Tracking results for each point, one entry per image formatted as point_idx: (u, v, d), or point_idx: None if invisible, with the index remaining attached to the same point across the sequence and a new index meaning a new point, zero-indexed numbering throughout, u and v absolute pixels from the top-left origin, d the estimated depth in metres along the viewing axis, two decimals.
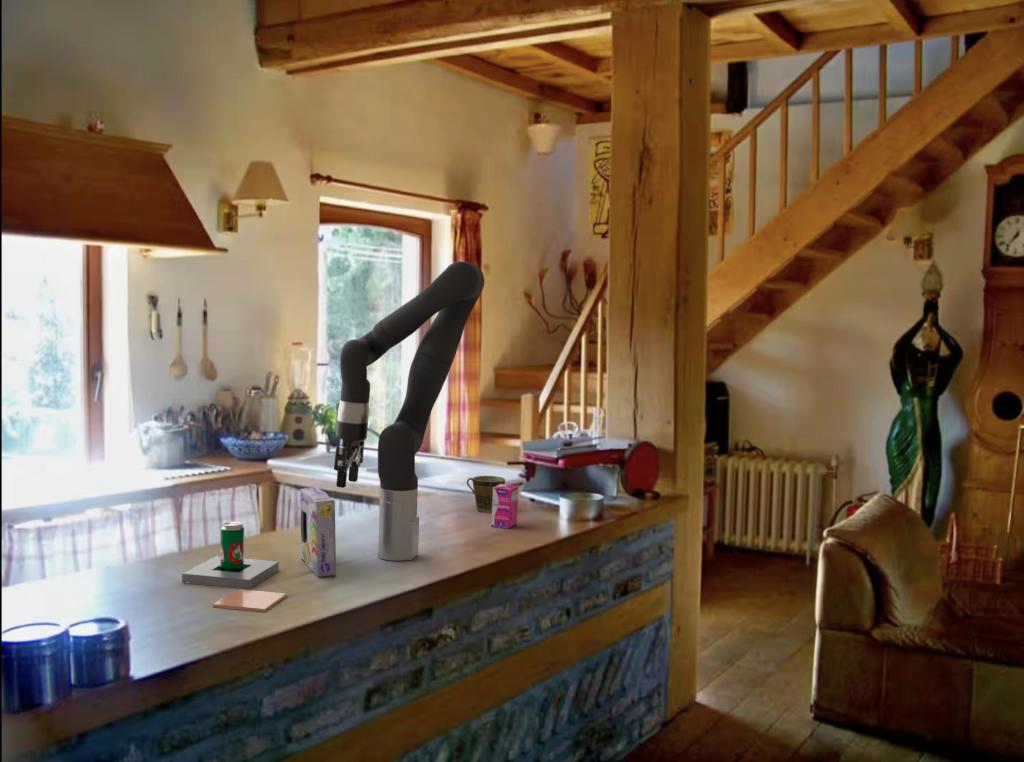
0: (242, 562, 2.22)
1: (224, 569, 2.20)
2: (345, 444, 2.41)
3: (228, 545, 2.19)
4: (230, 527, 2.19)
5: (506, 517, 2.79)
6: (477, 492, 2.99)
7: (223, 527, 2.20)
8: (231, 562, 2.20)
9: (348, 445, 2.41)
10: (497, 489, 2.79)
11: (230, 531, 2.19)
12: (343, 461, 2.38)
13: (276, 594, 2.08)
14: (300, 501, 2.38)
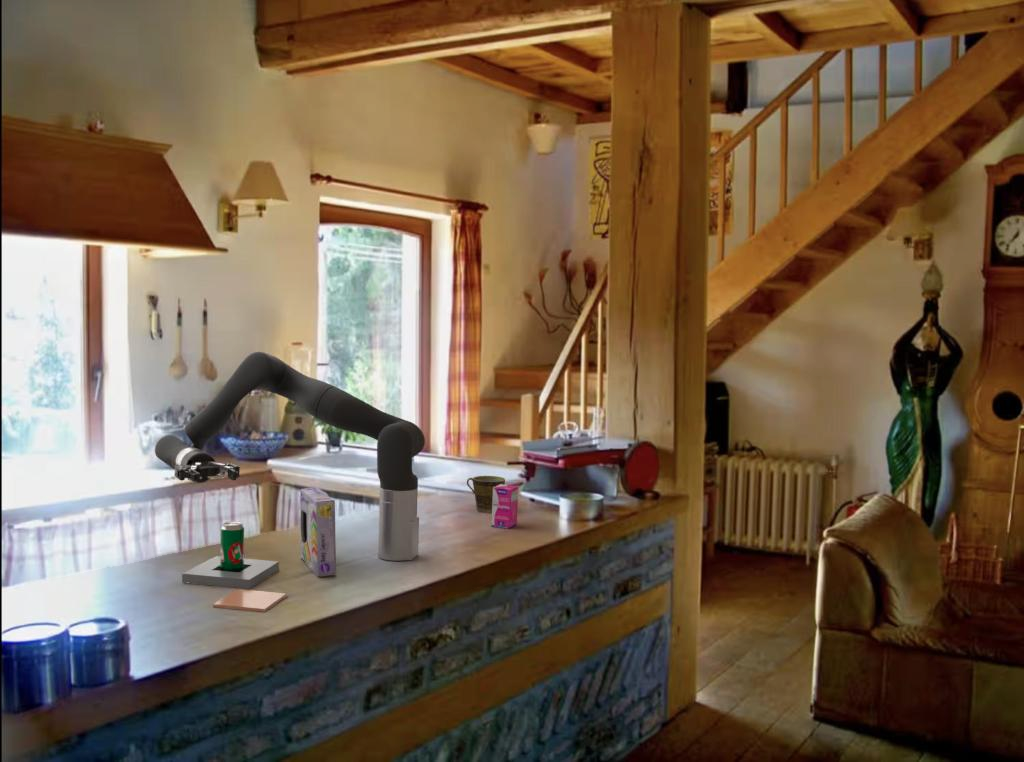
0: (242, 562, 2.22)
1: (224, 569, 2.20)
2: None
3: (228, 545, 2.19)
4: (230, 527, 2.19)
5: (506, 517, 2.79)
6: (477, 492, 2.99)
7: (223, 527, 2.20)
8: (231, 562, 2.20)
9: (186, 466, 2.36)
10: (497, 489, 2.79)
11: (230, 531, 2.19)
12: (177, 469, 2.31)
13: (276, 594, 2.08)
14: (300, 501, 2.38)
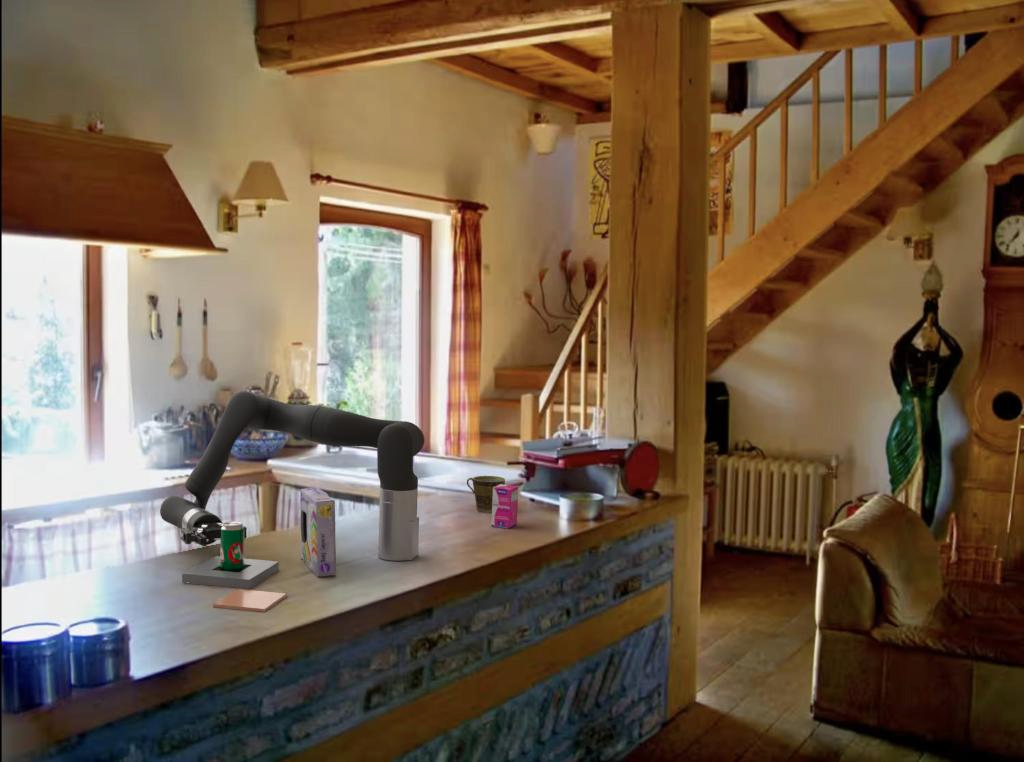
0: (242, 562, 2.22)
1: (224, 569, 2.20)
2: None
3: (228, 545, 2.19)
4: (230, 527, 2.19)
5: (506, 517, 2.79)
6: (477, 492, 2.99)
7: (223, 527, 2.20)
8: (231, 562, 2.20)
9: (193, 529, 2.33)
10: (497, 489, 2.79)
11: (230, 531, 2.19)
12: (184, 532, 2.28)
13: (276, 594, 2.08)
14: (300, 501, 2.38)
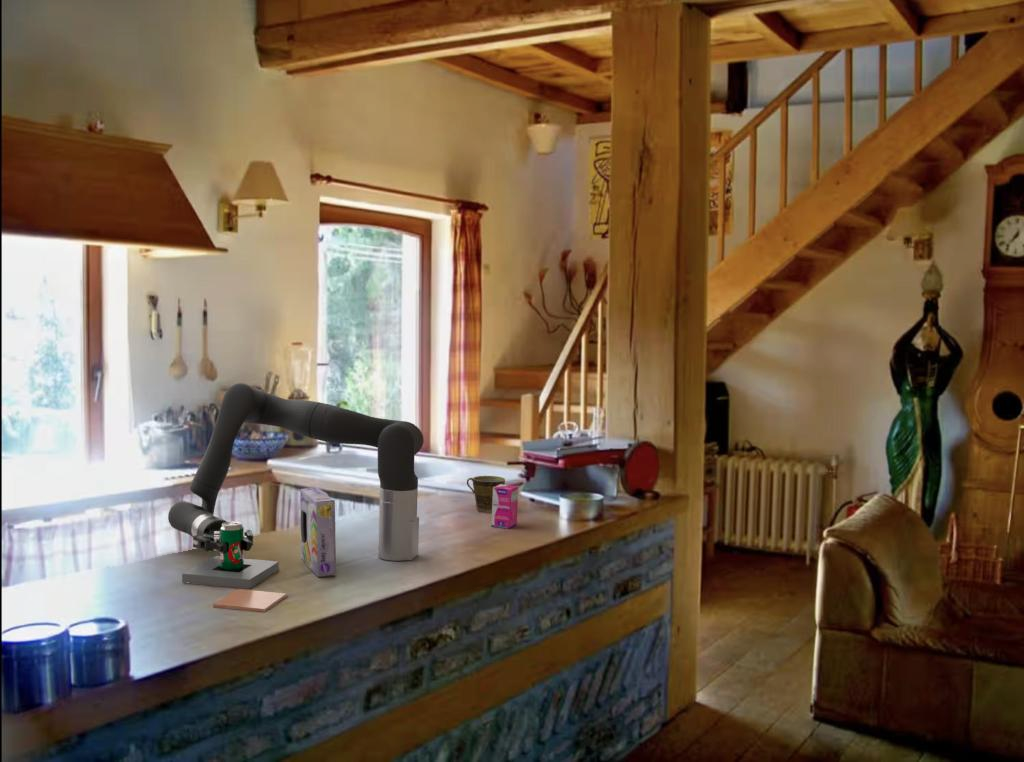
0: (242, 562, 2.22)
1: (224, 569, 2.20)
2: None
3: (227, 546, 2.19)
4: (229, 527, 2.19)
5: (506, 517, 2.79)
6: (477, 492, 2.99)
7: (222, 527, 2.20)
8: (231, 562, 2.19)
9: (203, 535, 2.26)
10: (497, 489, 2.79)
11: (230, 532, 2.19)
12: (200, 539, 2.22)
13: (276, 594, 2.08)
14: (300, 501, 2.38)
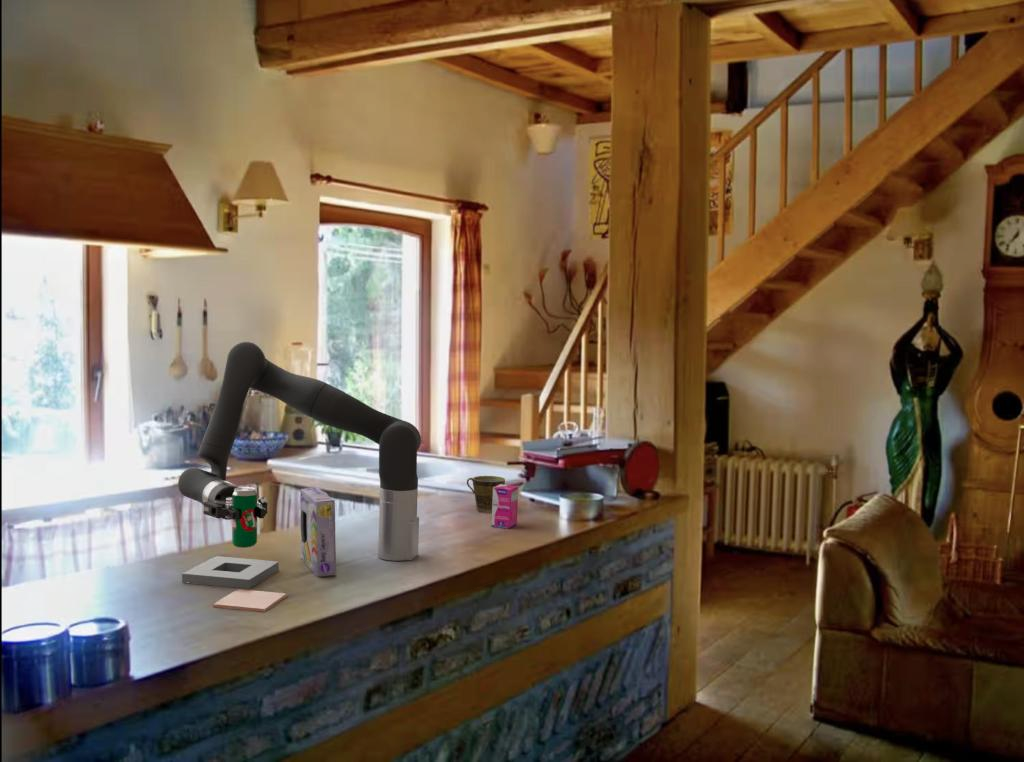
0: (255, 530, 2.07)
1: (236, 537, 2.06)
2: None
3: (240, 512, 2.05)
4: (242, 492, 2.05)
5: (506, 517, 2.79)
6: (477, 492, 2.99)
7: (235, 492, 2.06)
8: (244, 530, 2.05)
9: (214, 502, 2.12)
10: (497, 489, 2.79)
11: (242, 497, 2.05)
12: (211, 506, 2.07)
13: (276, 594, 2.08)
14: (300, 501, 2.38)
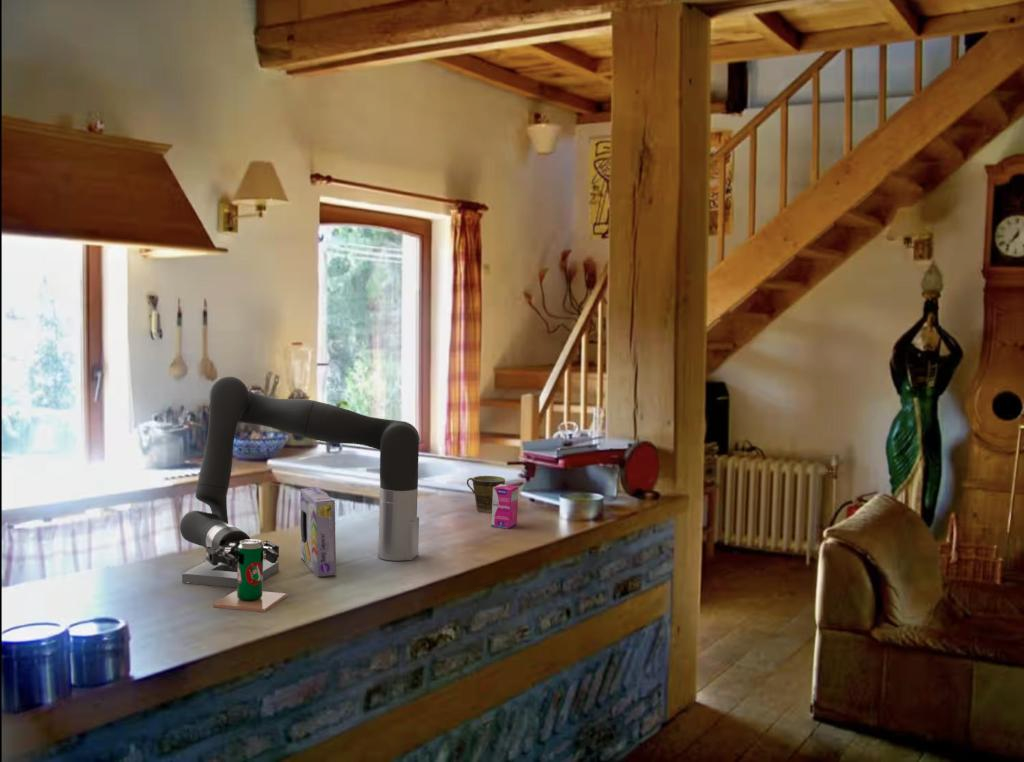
0: (261, 583, 2.04)
1: (241, 591, 2.02)
2: None
3: (245, 565, 2.01)
4: (248, 545, 2.01)
5: (506, 517, 2.79)
6: (477, 492, 2.99)
7: (240, 545, 2.02)
8: (249, 583, 2.02)
9: (219, 547, 2.08)
10: (497, 489, 2.79)
11: (248, 550, 2.01)
12: (210, 552, 2.04)
13: (276, 594, 2.08)
14: (300, 501, 2.38)
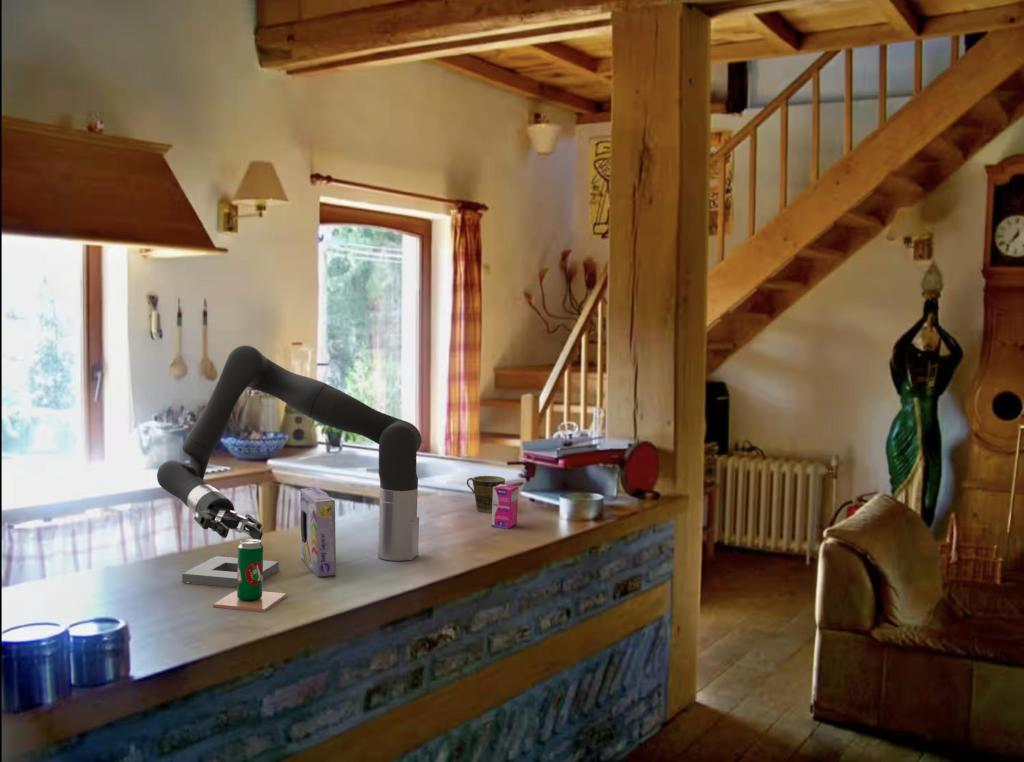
0: (261, 583, 2.04)
1: (241, 591, 2.02)
2: None
3: (245, 565, 2.01)
4: (248, 545, 2.01)
5: (506, 517, 2.79)
6: (477, 492, 2.99)
7: (240, 545, 2.02)
8: (249, 583, 2.02)
9: (208, 511, 2.20)
10: (497, 489, 2.79)
11: (248, 550, 2.01)
12: (202, 515, 2.16)
13: (276, 594, 2.08)
14: (300, 501, 2.38)
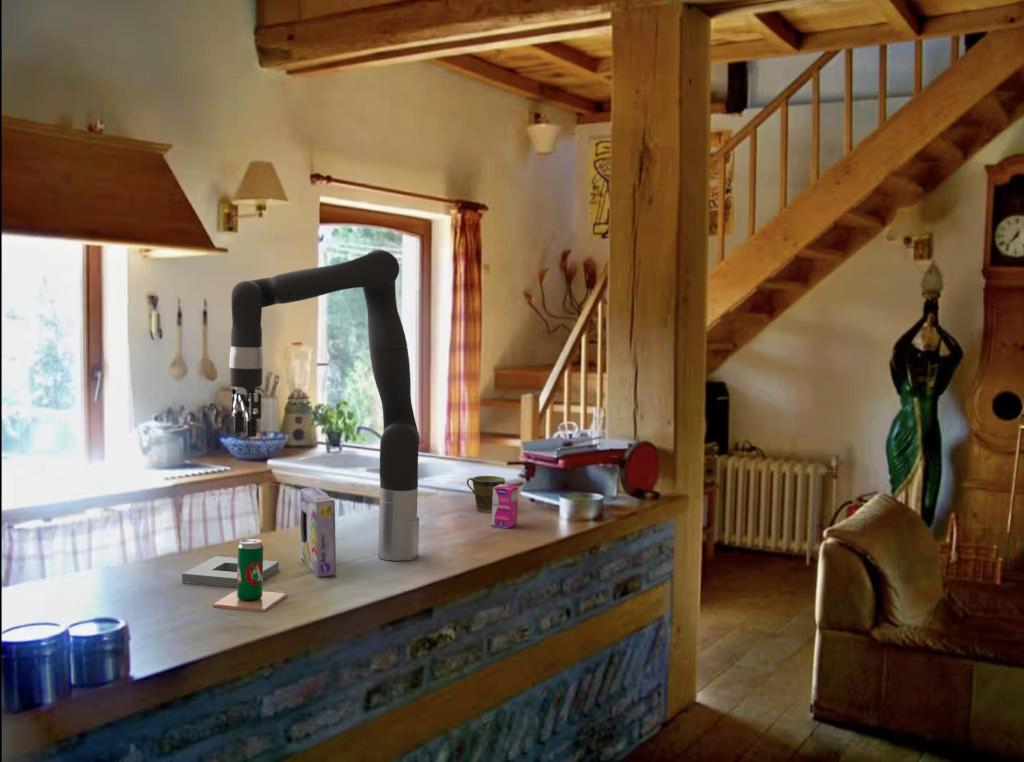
0: (261, 583, 2.04)
1: (241, 591, 2.02)
2: (251, 391, 2.31)
3: (245, 565, 2.01)
4: (248, 545, 2.01)
5: (506, 517, 2.79)
6: (477, 492, 2.99)
7: (240, 545, 2.02)
8: (249, 583, 2.02)
9: (254, 392, 2.31)
10: (497, 489, 2.79)
11: (248, 550, 2.01)
12: (260, 408, 2.29)
13: (276, 594, 2.08)
14: (300, 501, 2.38)
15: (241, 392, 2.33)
